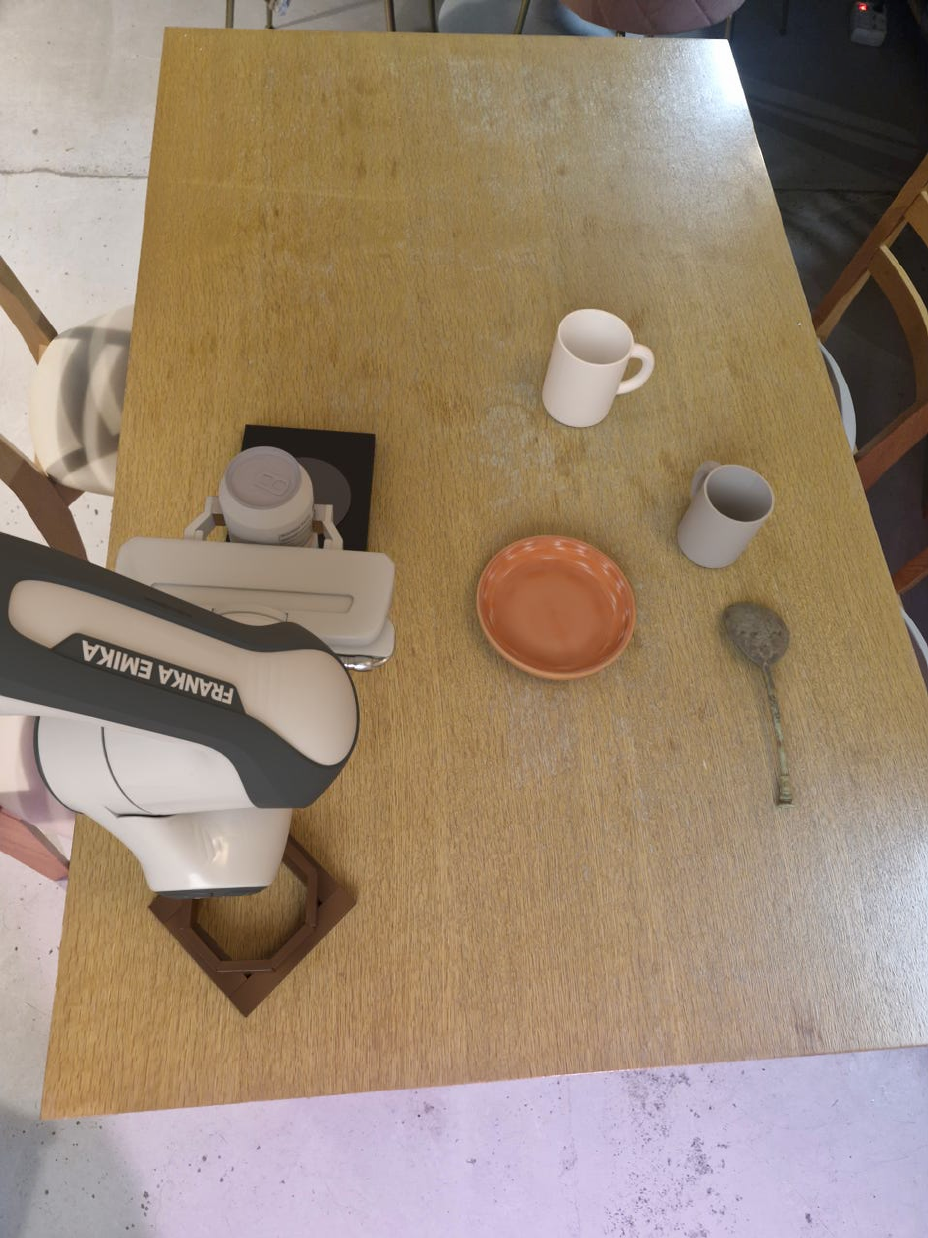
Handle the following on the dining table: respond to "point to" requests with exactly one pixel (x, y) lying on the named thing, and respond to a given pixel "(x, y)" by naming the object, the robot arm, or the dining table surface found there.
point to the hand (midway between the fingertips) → (270, 504)
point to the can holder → (270, 972)
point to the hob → (329, 473)
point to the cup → (723, 513)
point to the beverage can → (268, 499)
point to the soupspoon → (763, 663)
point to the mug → (591, 367)
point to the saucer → (555, 607)
